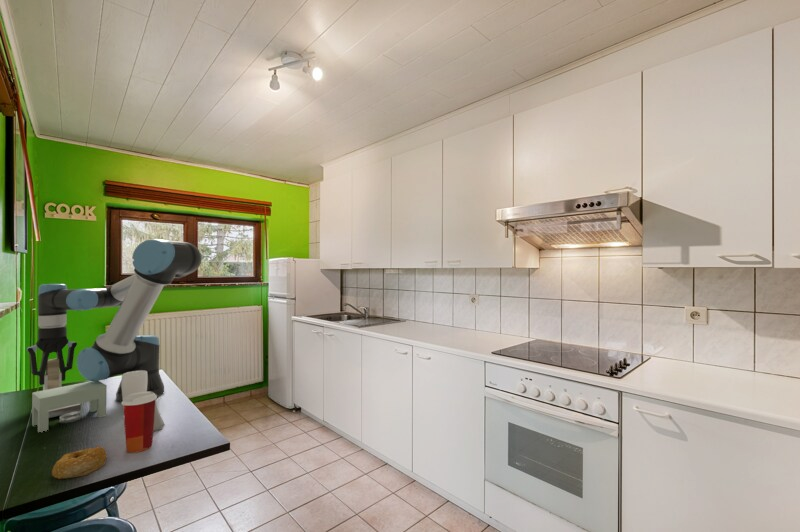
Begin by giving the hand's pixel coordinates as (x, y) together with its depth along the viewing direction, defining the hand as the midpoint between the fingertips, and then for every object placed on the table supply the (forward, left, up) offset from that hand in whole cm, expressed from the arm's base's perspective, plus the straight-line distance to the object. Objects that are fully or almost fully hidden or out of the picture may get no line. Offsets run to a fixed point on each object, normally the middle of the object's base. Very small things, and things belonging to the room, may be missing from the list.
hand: (52, 391), depth 132 cm
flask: (-37, +40, -5) cm, 55 cm away
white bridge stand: (-12, +21, -5) cm, 25 cm away
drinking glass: (-31, +30, -5) cm, 43 cm away
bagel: (-27, +60, -5) cm, 66 cm away
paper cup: (-37, +53, -5) cm, 65 cm away
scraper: (-4, +7, -4) cm, 9 cm away
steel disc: (-12, +21, -5) cm, 25 cm away
